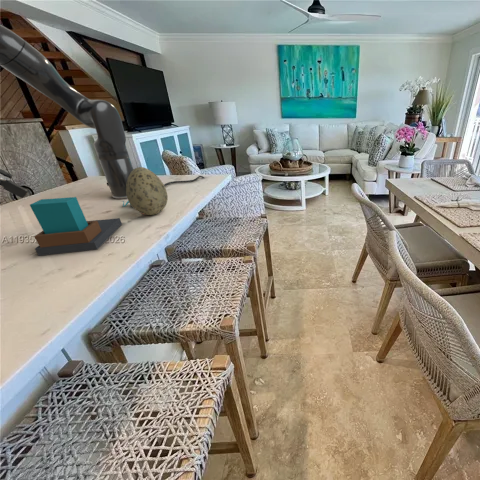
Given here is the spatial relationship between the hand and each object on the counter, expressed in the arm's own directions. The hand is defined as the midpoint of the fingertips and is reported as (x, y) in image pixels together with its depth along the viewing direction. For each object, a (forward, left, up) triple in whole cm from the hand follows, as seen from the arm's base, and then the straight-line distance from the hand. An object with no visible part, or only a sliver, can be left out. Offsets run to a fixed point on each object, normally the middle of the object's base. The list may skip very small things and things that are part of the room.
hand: (12, 200), depth 59 cm
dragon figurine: (-29, -12, -13) cm, 34 cm away
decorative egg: (-28, +1, -13) cm, 31 cm away
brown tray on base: (-8, +3, -13) cm, 15 cm away
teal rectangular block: (-5, +6, -11) cm, 13 cm away
